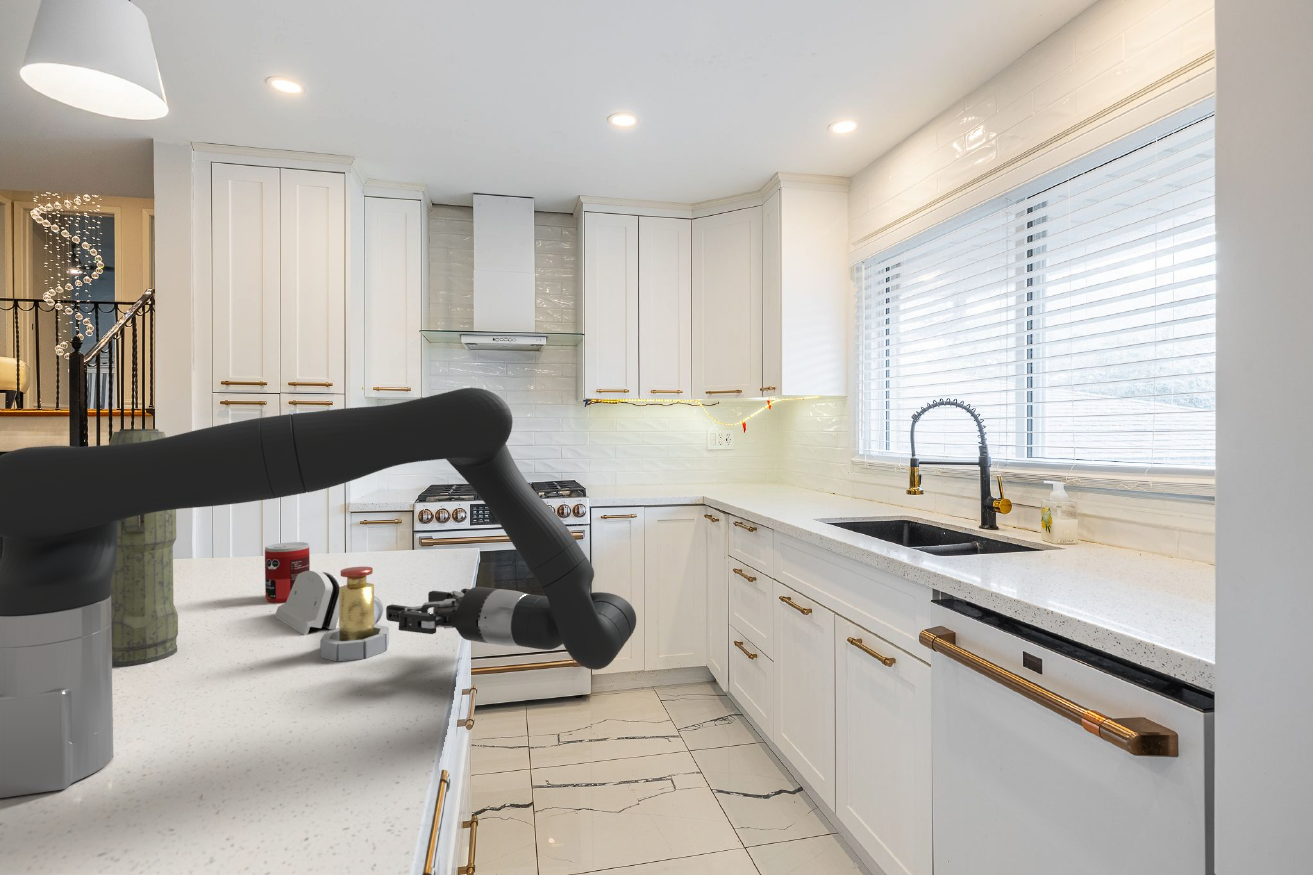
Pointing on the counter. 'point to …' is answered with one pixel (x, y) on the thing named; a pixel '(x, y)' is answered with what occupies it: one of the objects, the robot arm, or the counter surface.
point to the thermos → (143, 580)
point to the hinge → (312, 602)
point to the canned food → (284, 568)
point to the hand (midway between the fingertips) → (409, 604)
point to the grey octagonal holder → (356, 641)
